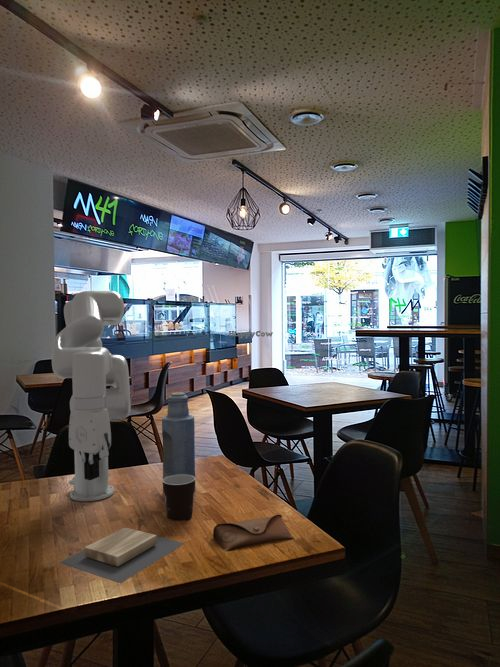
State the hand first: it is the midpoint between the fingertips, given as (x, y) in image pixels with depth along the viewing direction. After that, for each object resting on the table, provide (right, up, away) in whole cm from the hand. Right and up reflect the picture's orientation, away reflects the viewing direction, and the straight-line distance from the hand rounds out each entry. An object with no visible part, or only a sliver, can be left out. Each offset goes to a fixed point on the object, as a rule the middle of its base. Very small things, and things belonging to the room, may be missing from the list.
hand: (92, 477), depth 121 cm
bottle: (+17, -13, +31) cm, 38 cm away
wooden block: (+5, -13, -6) cm, 15 cm away
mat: (+10, -14, -9) cm, 20 cm away
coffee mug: (+20, -14, +13) cm, 27 cm away
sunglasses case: (+39, -14, -2) cm, 42 cm away
